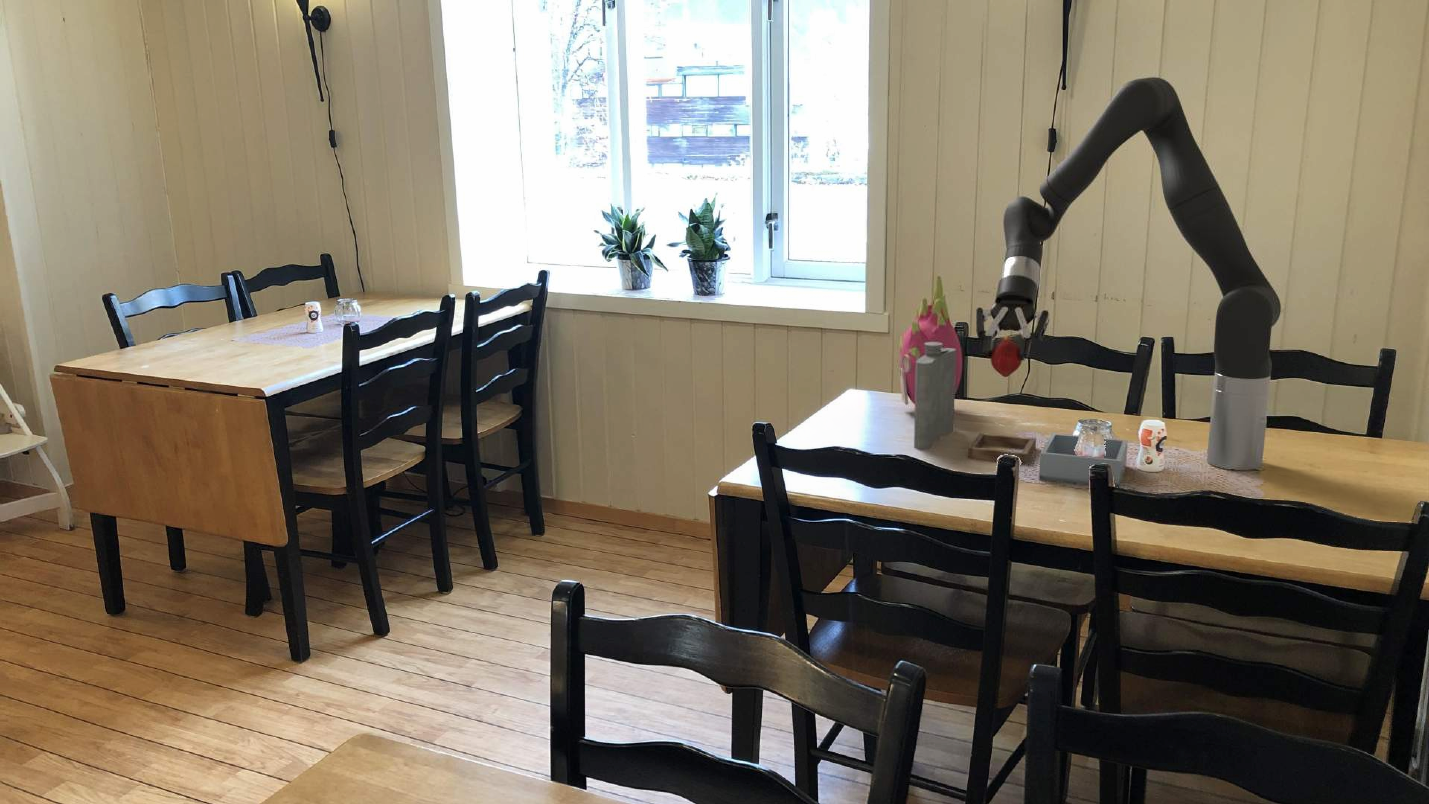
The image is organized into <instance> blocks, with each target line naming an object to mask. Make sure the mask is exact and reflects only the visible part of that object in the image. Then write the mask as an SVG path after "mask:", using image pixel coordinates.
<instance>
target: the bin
mask: <svg viewBox="0 0 1429 804" xmlns="http://www.w3.org/2000/svg"><path fill="white" fill-rule="evenodd" d="M1078 436H1079V435H1076V434H1075V435H1074V434H1065V433H1064V434H1063V433H1054V432H1053V433H1051V434H1050V435H1049V437H1048V438H1047V441H1046V443H1045V444H1044V446H1043V448H1042V450H1041V452H1040V454H1039V457H1040V458H1039V475H1038V476H1039V477H1038V480H1039V481H1040V480H1041V481H1046V482H1047V481H1048V482H1056V483H1065V484H1066V483H1067V484H1076V485H1083V486H1090V485H1089V467H1090V466H1092V465H1093V464H1096V463H1111V464H1112V472H1113V477H1114V484H1115V487H1119V488H1120V487H1121V486H1120V485H1121V482H1122V480H1123V476H1124V473H1125V470H1126V467H1127V454H1128V442H1129V440H1128V439H1121V438H1119V439H1117V438H1110V437H1108V439H1104V441H1106V443H1105V444H1104V445H1106V446H1105V447H1106V448H1105V451H1106V456H1104V458H1097V457H1087V456H1077V455H1076V454H1075V451H1074V449H1075V446H1076V444H1077V441H1078V438H1079V437H1078Z"/></svg>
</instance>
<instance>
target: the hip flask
mask: <svg viewBox="0 0 1429 804" xmlns="http://www.w3.org/2000/svg"><path fill="white" fill-rule="evenodd" d="M924 348H926V349H925V353H926V355H924V356H922V357H921V358H919V359H918V360H917V361H916V378H915V404H914V425H913V426H914V431H913V434H914V435H913V448H915V449H916V450H922V449H924V450H929V449H931V447H932V445H934V444H935V443H936V442H937V441H939V440H940V439H942V438H944V437H945V435H946V436H947V434H948V435H950V434H953V433H954V430H955V429H954V426H955V425H954V423H955V422H954V421H955V394H956V393H955V365H956V349H953V348H943V344H942V343H939V342H927V343H924ZM941 348H942V349H941ZM952 432H953V433H952ZM941 437H942V438H941Z"/></svg>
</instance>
